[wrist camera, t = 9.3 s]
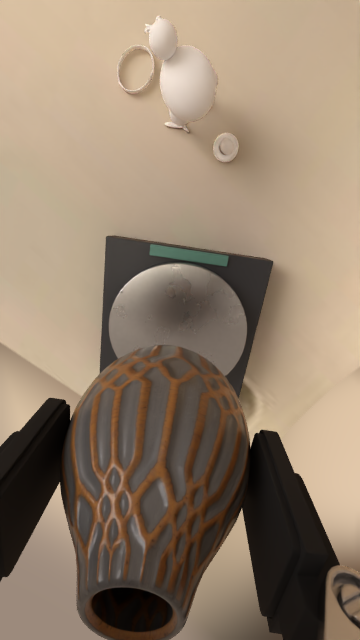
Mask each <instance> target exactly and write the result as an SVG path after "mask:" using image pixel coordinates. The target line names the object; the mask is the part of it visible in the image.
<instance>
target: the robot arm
mask: <svg viewBox="0 0 360 640" xmlns="http://www.w3.org/2000/svg"><path fill="white" fill-rule="evenodd" d="M69 423H70V406H69V405H68V404H66V401H65V400H62V399H55V398H49V399H48V400H46V402H45V403H44V404H43V405H42V406H41V407H40V408H39V410H38V411H37V412H36V413H35V414H34V415H33V416H32V418H31V419H30V420H29V421H28V422H27V423H26V425H25V426H24V427H23V428H22V429H21V430H20V431H16V432H14V433H13V434H12V435H10V436H9V438H8V439H7V440H6V441H5V442H4V443H3V444H2V445H1V446H0V581H1V579H2V577H8V576H9V574H10V573H11V572H12V570H13V568H14V566H15V565H16V563H17V561H18V559H19V557H20V555H21V553H22V551H23V550H24V548H25V546H26V544H27V542H28V540H29V538H30V537H31V535H32V533H33V531H34V529H35V527H36V525H37V523H38V522H39V520H40V518H41V516H42V514H43V512H44V510H45V508H46V506H47V505H48V503H49V501H50V499H51V497H52V495H53V493H54V492H55V490H56V488H57V486H58V484H59V482H60V464H61V456H62V450H63V445H64V440H65V436H66V433H67V429H68V426H69ZM242 510H243V515H244V521H245V526H246V532H247V538H248V544H249V550H250V555H251V561H252V567H253V573H254V579H255V584H256V590H257V596H258V601H259V607H260V611H261V614H262V616H266V617H267V621H268V626H269V631H270V632H272V633H278V634H282V636H283V640H360V573H359V572H357V571H356V570H354V569H351V568H349V567H346V566H341V565H340V564H339V562H338V559H337V557H336V555H335V553H334V550H333V548H332V546H331V543H330V541H329V539H328V536H327V534H326V532H325V530H324V527H323V525H322V523H321V521H320V518H319V516H318V514H317V512H316V509H315V507H314V504H313V502H312V500H311V498H310V495H309V493H308V491H307V488H306V486H305V484H304V482H303V480H302V478H301V476H300V475H299V474H297V473H294V471H293V468H292V466H291V463H290V461H289V459H288V456H287V454H286V451H285V449H284V447H283V444H282V442H281V439H280V437H279V435H278V433H277V432H274V431H267V430H261V431H260V433H256V434H255V435H254V439H253V442H252V446H251V449H250V472H249V480H248V486H247V491H246V495H245V499H244V502H243V506H242Z"/></svg>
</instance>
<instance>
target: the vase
mask: <svg viewBox="0 0 360 640" xmlns="http://www.w3.org/2000/svg"><path fill="white" fill-rule="evenodd" d="M249 472H250V438H249V432H248V427H247V423H246V419H245V416H244V412H243V409H242V406H241V404H240V402H239V399H238V397H237V395H236V392H235V391H234V389H233V387H232V386H231V384H230V383H229V381H228V380H227V378H226V377H225V376H224V375H223V373H222V372H221V371H220V370H219V369H218V368H217V367H216V366H215V365H213V364H212V363H211V362H210V361H209V360H207V359H206V358H204V357H203V356H201V355H199V354H197V353H195V352H193V351H191V350H188V349H185V348H182V347H178V346H171V345H156V346H148V347H144V348H140V349H137V350H135V351H132V352H130V353H128V354H126V355H124V356H122V357H120V358H119V359H117V360H116V361H114V362H113V363H112V364H110V365H109V366H108V367H107V368H105V369H104V370H103V371H102V372H101V373H100V374H99V375H98V377H97V378H96V379H95V380H94V381H93V382H92V384H91V385H90V386H89V388H88V389H87V390H86V392H85V393H84V395H83V396H82V398H81V400H80V401H79V403H78V405H77V407H76V409H75V411H74V413H73V415H72V418H71V420H70V423H69V426H68V429H67V433H66V436H65V440H64V445H63V450H62V456H61V464H60V486H61V495H62V500H63V505H64V509H65V514H66V518H67V522H68V526H69V530H70V534H71V537H72V541H73V544H74V548H75V553H76V564H77V610H78V613H79V616H80V618H81V619H82V621H83V622H84V624H85V625H86V626H87V627H88V628H89V629H91V630H92V631H93V632H95V633H96V634H97V635H99V636H101V637H103V638H105V639H107V640H169V639H171V638H173V637H174V636H176V635H177V634H178V633H179V632H180V631H181V630H182V628H183V627H184V625H185V623H186V620H187V618H188V614H189V611H190V608H191V605H192V602H193V599H194V596H195V593H196V590H197V587H198V585H199V582H200V580H201V578H202V575H203V573H204V572H205V570H206V569H207V567H208V565H209V564H210V562H211V561H212V559H213V558H214V556H215V555H216V553H217V552H218V550H219V549H220V547H221V546H222V544H223V542H224V541H225V539H226V538H227V536H228V535H229V533H230V531H231V529H232V528H233V526H234V524H235V522H236V520H237V518H238V516H239V513H240V511H241V509H242V506H243V502H244V499H245V495H246V491H247V486H248V480H249Z"/></svg>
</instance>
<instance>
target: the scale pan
mask: <svg viewBox="0 0 360 640" xmlns="http://www.w3.org/2000/svg"><path fill="white" fill-rule="evenodd" d="M109 336H110V341H111V344H112V348H113V350H114V352H115V355H116V356H117V358H118V359H119V358H120V357H122V356H124V355H126V354H128V353H130V352H132V351H135V350H137V349H140V348H144V347H148V346H156V345H171V346H178V347H182V348H185V349H188V350H191V351H193V352H195V353H197V354H199V355H201V356H203V357H204V358H206V359H207V360H209V361H210V362H211V363H212V364H213V365H215V366H216V367H217V368H218V369H219V370H220V371H221V372H222V373H223V375H224V376H226V375H227V374H228V373H229V372H230V371H231V370H232V369H233V368H234V366H235V365H236V363H237V362H238V360H239V359H240V357H241V355H242V353H243V350H244V347H245V343H246V338H247V321H246V316H245V312H244V309H243V306H242V304H241V302H240V300H239V298H238V296H237V295H236V293H235V292H234V290H233V289H232V288H231V287H230V285H229V284H228V283H227V282H226V281H225V280H223V279H222V278H221V277H220V276H218V275H217V274H216V273H214V272H212V271H210V270H208V269H206V268H204V267H201V266H198V265H195V264H190V263H182V262H172V263H164V264H159V265H156V266H153V267H150V268H148V269H146V270H144V271H142V272H140V273H139V274H137V275H136V276H135V277H133V278H132V279H131V280H130V281H129V282H128V283H127V284H126V285H125V286H124V287H123V288H122V289H121V291H120V292H119V294H118V295H117V297H116V299H115V301H114V303H113V305H112V309H111V312H110V317H109Z"/></svg>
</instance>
